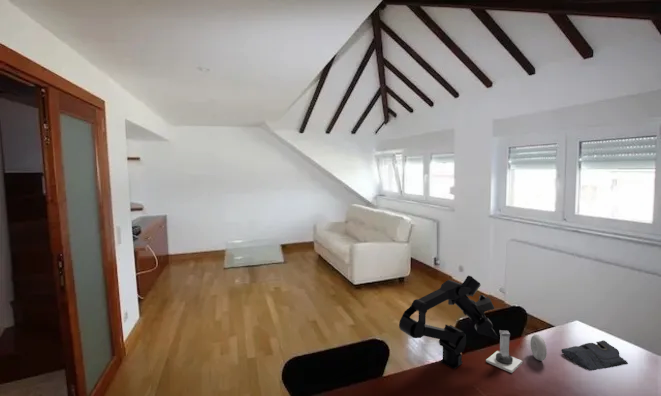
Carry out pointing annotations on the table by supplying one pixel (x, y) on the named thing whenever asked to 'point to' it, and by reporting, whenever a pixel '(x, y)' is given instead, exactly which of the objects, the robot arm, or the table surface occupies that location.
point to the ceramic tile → (509, 368)
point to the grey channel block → (504, 349)
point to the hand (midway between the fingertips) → (494, 332)
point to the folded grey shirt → (595, 355)
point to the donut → (538, 347)
